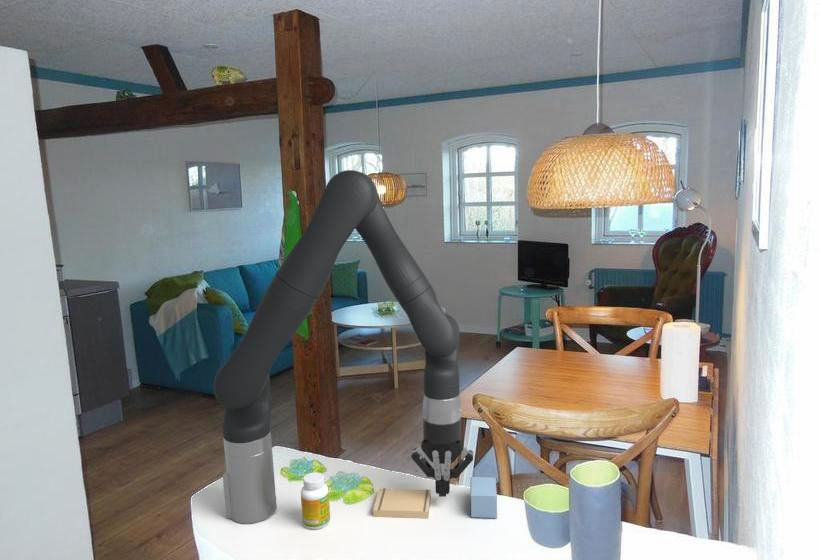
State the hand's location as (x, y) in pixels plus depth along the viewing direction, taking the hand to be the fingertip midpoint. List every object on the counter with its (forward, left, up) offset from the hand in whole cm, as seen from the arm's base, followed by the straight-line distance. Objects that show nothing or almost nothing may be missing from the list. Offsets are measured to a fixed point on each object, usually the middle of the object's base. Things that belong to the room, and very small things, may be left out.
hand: (442, 494), depth 121 cm
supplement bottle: (-25, -6, -3) cm, 26 cm away
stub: (+8, 0, -3) cm, 9 cm away
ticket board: (-8, 0, -3) cm, 9 cm away
